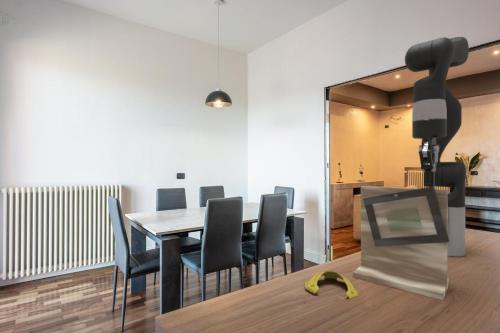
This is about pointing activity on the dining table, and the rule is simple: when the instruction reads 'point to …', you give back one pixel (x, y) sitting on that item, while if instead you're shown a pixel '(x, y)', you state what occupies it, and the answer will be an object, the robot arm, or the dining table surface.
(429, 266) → the wall board stand
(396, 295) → the dining table surface
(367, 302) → the dining table surface
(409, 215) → the picture frame
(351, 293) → the yellow horseshoe piece
